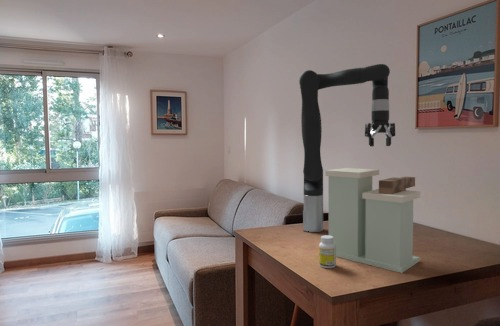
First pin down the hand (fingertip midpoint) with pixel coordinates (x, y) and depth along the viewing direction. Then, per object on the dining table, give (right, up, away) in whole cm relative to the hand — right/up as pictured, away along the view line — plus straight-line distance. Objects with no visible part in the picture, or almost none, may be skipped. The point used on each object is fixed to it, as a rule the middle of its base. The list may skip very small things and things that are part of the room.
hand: (380, 146), depth 163 cm
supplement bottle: (-32, -44, -38) cm, 66 cm away
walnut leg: (-5, -17, -33) cm, 38 cm away
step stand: (-15, -42, -30) cm, 54 cm away
